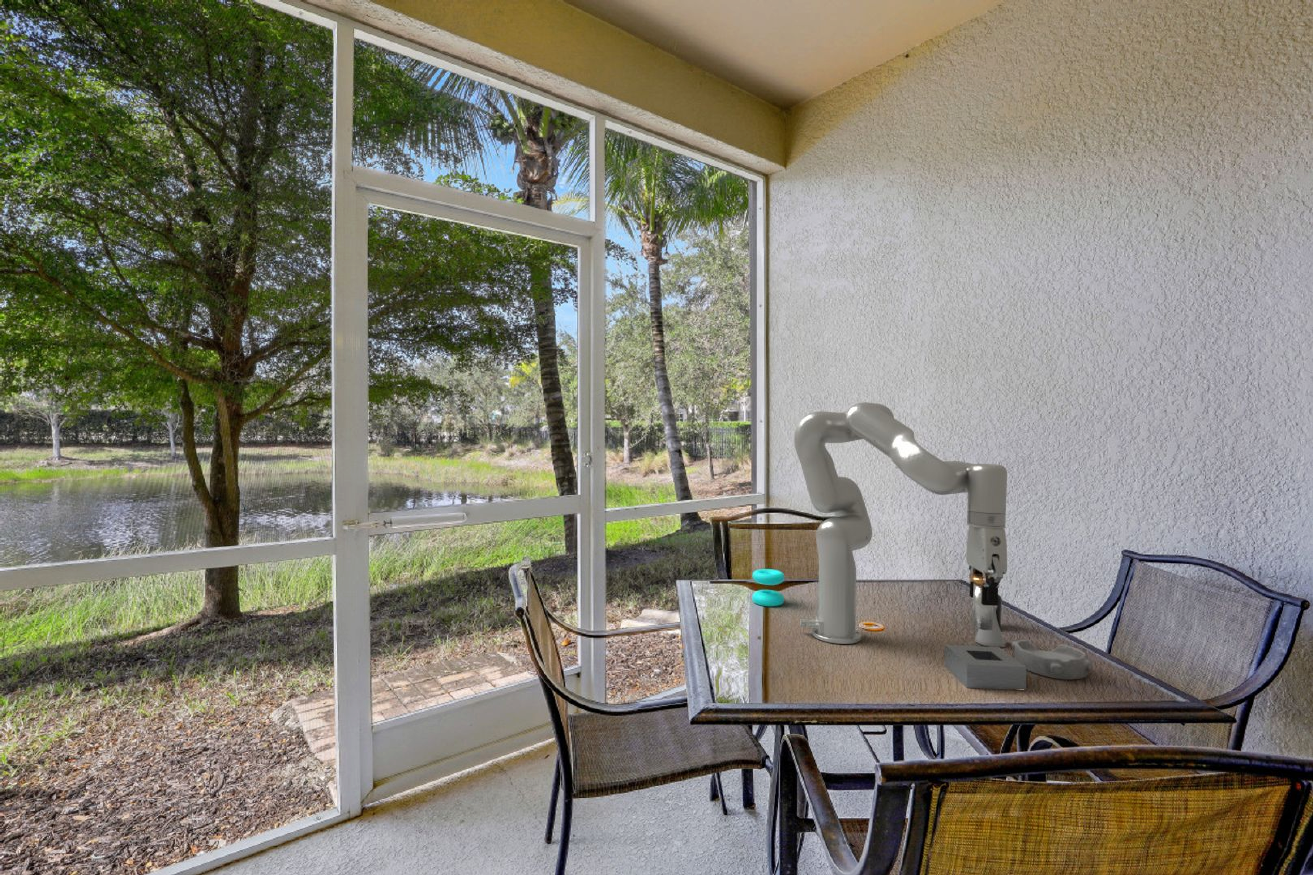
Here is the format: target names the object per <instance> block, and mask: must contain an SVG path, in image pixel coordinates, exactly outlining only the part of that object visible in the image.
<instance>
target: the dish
mask: <svg viewBox="0 0 1313 875" xmlns="http://www.w3.org/2000/svg"><path fill="white" fill-rule="evenodd" d="M1011 648H1012V650H1013V651H1014V659H1016V660H1017V661H1019V662H1020V663H1021V664H1023V665H1024V666H1025V667H1026V671H1029V672H1031V673H1033V674H1036V675H1037V674H1038V675H1040V676H1045V677H1048V678H1052V679H1058V680H1080V679H1084V678H1086V676H1087V675H1088V672H1091V671H1092V669H1093V662H1092V660H1090V659H1089V660H1088V658H1087V655H1086V653H1085V652H1083V651H1082V650H1080V649H1078V648H1076V647H1073V646H1070V645H1068V644H1067V645H1066V644H1064V643H1060V644H1059V645H1058V646H1057V647H1055V648H1054V649H1052V650H1048V651H1047V650H1041V649H1038V648H1037V647H1035V646H1034V645H1033V644H1032V643H1031V642H1030V641H1029V640H1028V639H1020V640H1014V641H1012V642H1011Z"/></svg>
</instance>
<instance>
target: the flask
mask: <svg viewBox="0 0 1313 875" xmlns="http://www.w3.org/2000/svg"><path fill="white" fill-rule="evenodd" d="M996 609H997V606H993V629H992V630H981V629H978V631H977V632H976V634H975V638H974V642H975V643H976V644H979V645H981V646H983V647H999V648H1005V647H1006V643H1005V640H1004V637H1003V633H1002V631H1001V627H1000V628H999V625H998V622H997V617H996Z"/></svg>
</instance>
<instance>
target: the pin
mask: <svg viewBox="0 0 1313 875" xmlns="http://www.w3.org/2000/svg"><path fill="white" fill-rule="evenodd" d="M969 575H970V574H969ZM990 577H993V576H989V575H988V580H989V578H990ZM970 581H971V582H973V583H974V589H973V598H972V623H971V627H973V628H974V629H978V630H979V629H981V630H992V629H993V606H990V605H983V604H982V603H981V597H982V586H984V582H983V574H972V575H970V577H969V582H970Z"/></svg>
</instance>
